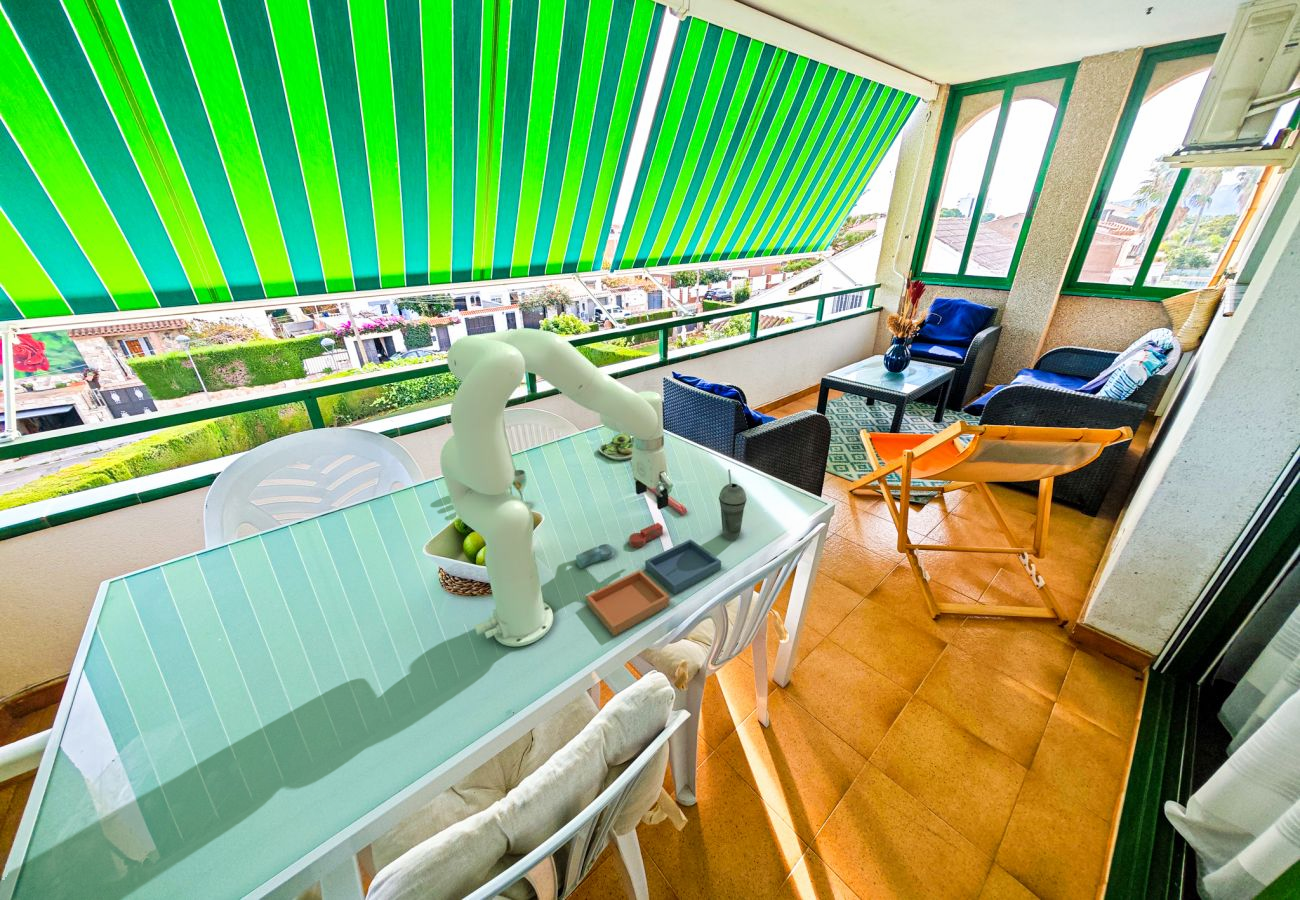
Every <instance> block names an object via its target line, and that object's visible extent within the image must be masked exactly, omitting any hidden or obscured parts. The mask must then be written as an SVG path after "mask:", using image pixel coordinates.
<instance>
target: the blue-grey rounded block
mask: <svg viewBox="0 0 1300 900" xmlns="http://www.w3.org/2000/svg"><path fill="white" fill-rule="evenodd" d="M614 555H615V552H614V547H613V545H611V544H610V543H609V544H608V543H604V544H600V545H599V546H595V547H592V548H590V549H588V550H585V551H583V552H580V553H579V554H576V555H575V558H576V565H577V566H578V567H579V568H580V569H584V568H585V567H588V566H590V565H592V564H594V563H596V562H598V561H608V560H610V559H612V558H613V557H614Z"/></svg>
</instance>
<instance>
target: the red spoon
mask: <svg viewBox="0 0 1300 900" xmlns="http://www.w3.org/2000/svg"><path fill="white" fill-rule="evenodd" d="M663 529H664V527H663V525H662V524H661V523H659V522H656V523H653V524H651V525H649V526H647V527H644V528H642V529H640V530H639V532H634V533H631V534H630V535H629V545H630V547H632V548H634V549H639V548H642V547H643V548H644V546H645V545H646V544H647V542H649V541H652V540H653V539H656V538H659V537H660V536H663V534H664V530H663Z"/></svg>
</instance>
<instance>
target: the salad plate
mask: <svg viewBox="0 0 1300 900" xmlns="http://www.w3.org/2000/svg"><path fill="white" fill-rule="evenodd" d="M633 444H634V438H633V437H632V436H629V435H626V434H623V433H619V434H617V435H614V436H613V437H612V440H611V441H608V442H605V443H602V444H600V445H598V448H597V451H598V452H599V454H600V455H602V456H605V457H606V458H609V459H612V460H615V461H628V460H632V450H633Z"/></svg>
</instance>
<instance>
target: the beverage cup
mask: <svg viewBox="0 0 1300 900" xmlns="http://www.w3.org/2000/svg"><path fill="white" fill-rule="evenodd" d="M727 475H728V482H729V483H728V484H725V485H724V486H723V487H722V488H721V490H720V492H719V496H718V501H719V506H720V517H721V530H722V536H723V538H725V539H727V540H732V541H733V540H738V539H739V538H740V535H741V532H742V524H743V518H744V510H745V506H746V504H747V500H748V498H747V495H746V491H745V489H744V488H743V487H742V486H741V485H740V484H737V483H732V474H731V469H729V468H728V469H727Z"/></svg>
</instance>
